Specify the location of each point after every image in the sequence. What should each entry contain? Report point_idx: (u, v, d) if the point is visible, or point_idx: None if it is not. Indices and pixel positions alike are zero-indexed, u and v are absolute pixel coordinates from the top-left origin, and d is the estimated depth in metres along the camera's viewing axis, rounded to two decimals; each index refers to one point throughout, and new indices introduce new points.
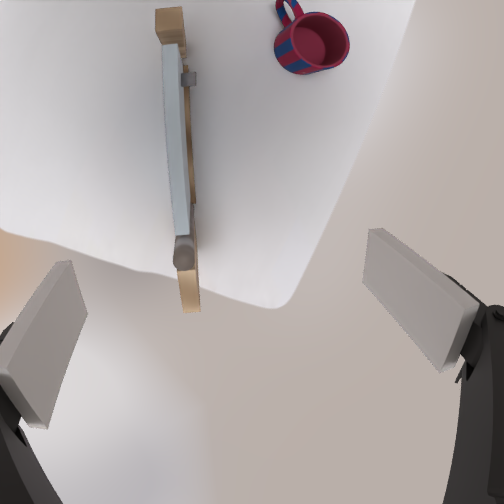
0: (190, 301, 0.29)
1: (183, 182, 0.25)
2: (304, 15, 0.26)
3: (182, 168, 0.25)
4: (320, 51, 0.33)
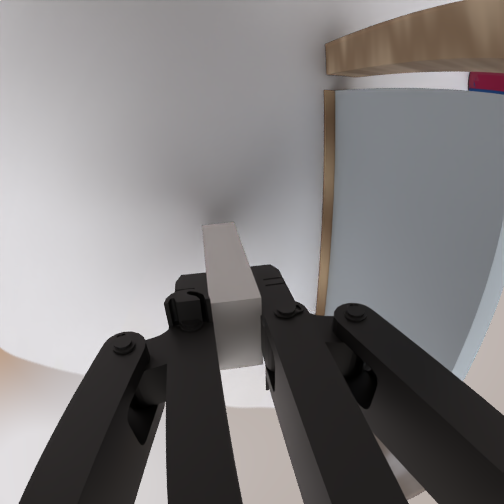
0: None
1: None
2: None
3: (462, 377, 0.10)
4: None
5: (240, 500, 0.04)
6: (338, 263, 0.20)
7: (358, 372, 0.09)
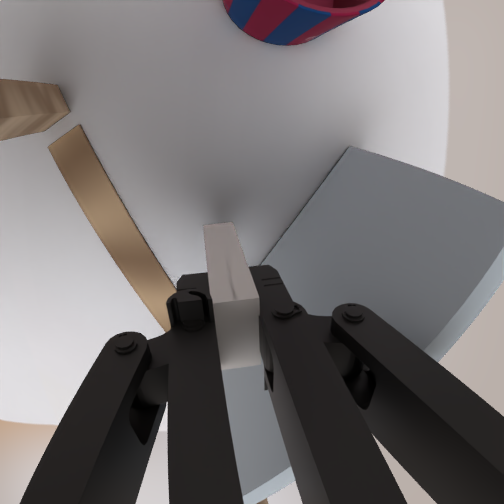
0: None
1: None
2: None
3: None
4: None
5: (242, 500, 0.04)
6: None
7: (356, 372, 0.09)
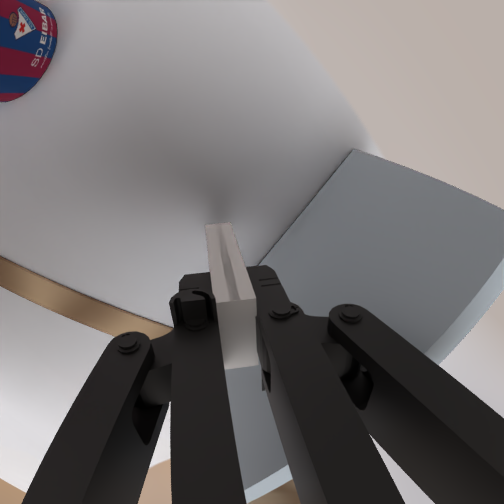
0: None
1: None
2: None
3: None
4: None
5: (244, 500, 0.04)
6: None
7: (354, 373, 0.09)
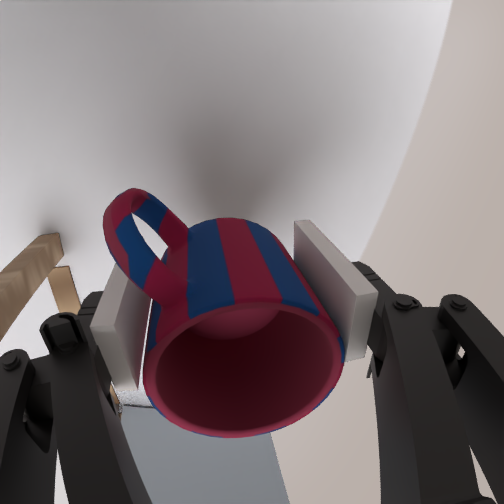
0: None
1: None
2: (182, 325, 0.08)
3: None
4: None
5: None
6: None
7: (451, 359, 0.09)
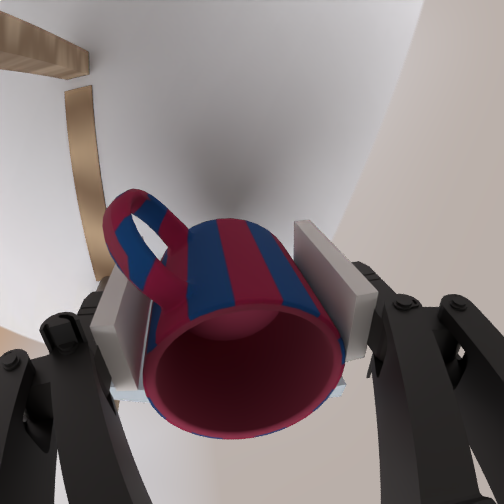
0: None
1: None
2: (181, 326, 0.08)
3: None
4: None
5: None
6: None
7: (451, 359, 0.09)
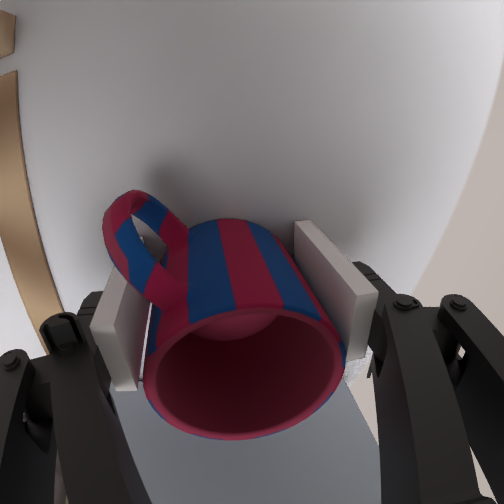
0: None
1: None
2: (182, 330, 0.08)
3: None
4: None
5: None
6: None
7: (451, 358, 0.09)
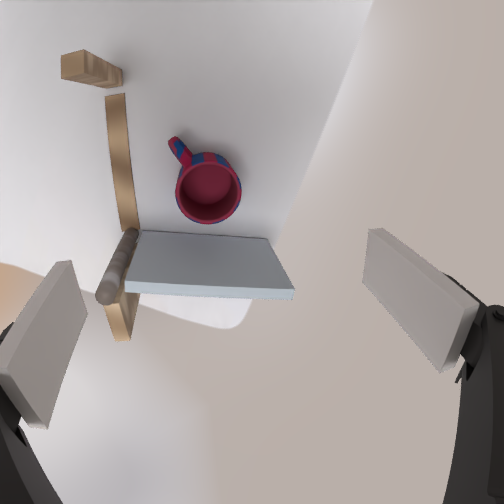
0: (119, 331, 0.29)
1: (172, 294, 0.29)
2: (189, 168, 0.31)
3: (185, 294, 0.29)
4: (226, 180, 0.38)
5: None
6: (184, 237, 0.39)
7: None
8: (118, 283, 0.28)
